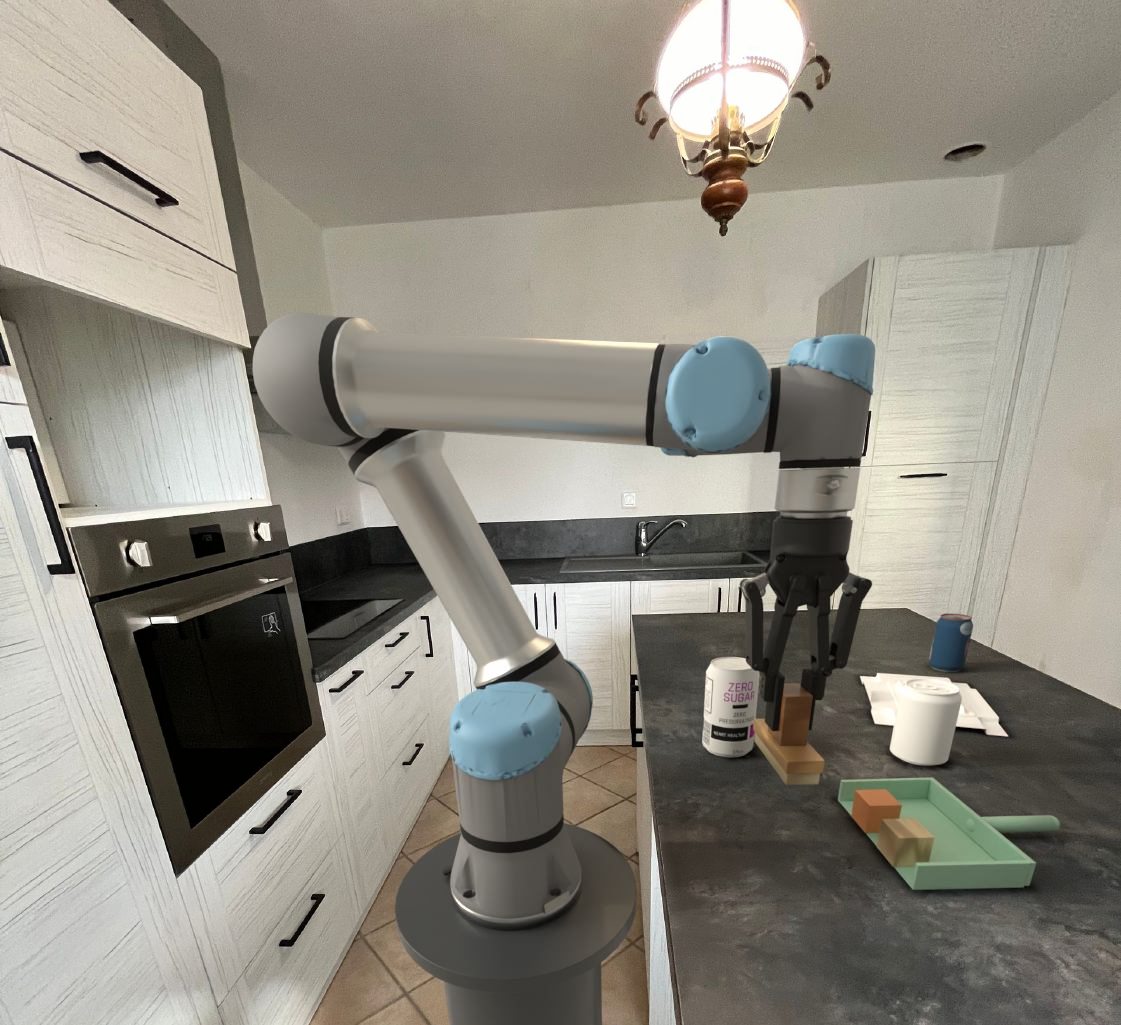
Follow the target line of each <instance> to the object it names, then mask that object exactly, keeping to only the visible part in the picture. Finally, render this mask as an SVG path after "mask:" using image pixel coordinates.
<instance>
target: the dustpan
mask: <svg viewBox="0 0 1121 1025" xmlns="http://www.w3.org/2000/svg"><path fill="white" fill-rule="evenodd" d="M879 789H886V790H887V791H888V792H889V793H890V794H891V795H892V796H893V797H894V798H895V799H896V800H897V801H898V802H899V803H900V804H901V805H902V808H901V813H900V818H899V819H909V818H915V819H917V820H918V821H919V822H920V823H921V824H922V825H923V826H924V827H925V828H926V829H927V830H928V831H929V832H930V833H931V834H932V835H933V836H934V842H933V846H932V851H931V855H930V860H929V862H922V863H915V867H893V868H894V870H896V871H897V873H898V874H899V875H900V876H901V877H902V879H903V880H904V881H905V882H906V883H907V885H908V886H909V887H910V888H911V890H912V891H923V890H924V891H925V890H927V891H928V890H966V889H967V890H972V889H1010V888H1011V889H1012V888H1013V889H1015V888H1025V887H1029V886H1031V882H1032V879H1033V875H1034V872H1035V869H1036V866H1037V862H1036V861H1035V860H1034V859H1033V858H1031V857H1030V856H1028V855H1027V854H1026V853H1025V852H1023V851H1022V850H1021V848H1019V847H1018V846H1017V845H1015V844H1014V843H1013V842H1012V841H1011V840H1010V839H1008V838H1006V837H1005V836H1004V835H1003V834H1012V833H1013V834H1015V833H1017V834H1018V833H1052V832H1053V833H1054V832H1056V831H1058V830H1059V829H1060V827H1061V822H1060V820H1059V819H1058V818H1057V817H1055V816H1053V815H1051V814H1049V815H1048V814H1043V815H1042V814H1040V815H1005V816H1004V815H1000V816H980V815H979V814H978V813H976V812H975V811H974V810H973V809H972V808H970V807H969V806H968V805H967V804H966V803H964V802H963V801H962V800H961V799H959V798H958V797H957V796H955V794H954V793H952V792H951V791H950V790H949V789H948V788H946V787H945V786H944V785H942V784H941V783H940V782H939V781H938V780H936V779H935V778H934V777H902V778H901V777H899V778H898V777H897V778H896V777H895V778H862V779H859V778H858V779H857V778H856V779H840V782H839V790H838V796H837V801H838V803H839V804H840V805H841V806H842V807H843V808H844V809H845V811H846V812H847V813H848V814H849V816H851V813H852V807H853V801H854V795H855V790H879ZM865 834H866V836H867V837H868V838H869V839H870V841H871V842H872V843H873V844H874V845H875V846H876V847H877V842H878V837H879V833H865Z"/></svg>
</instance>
